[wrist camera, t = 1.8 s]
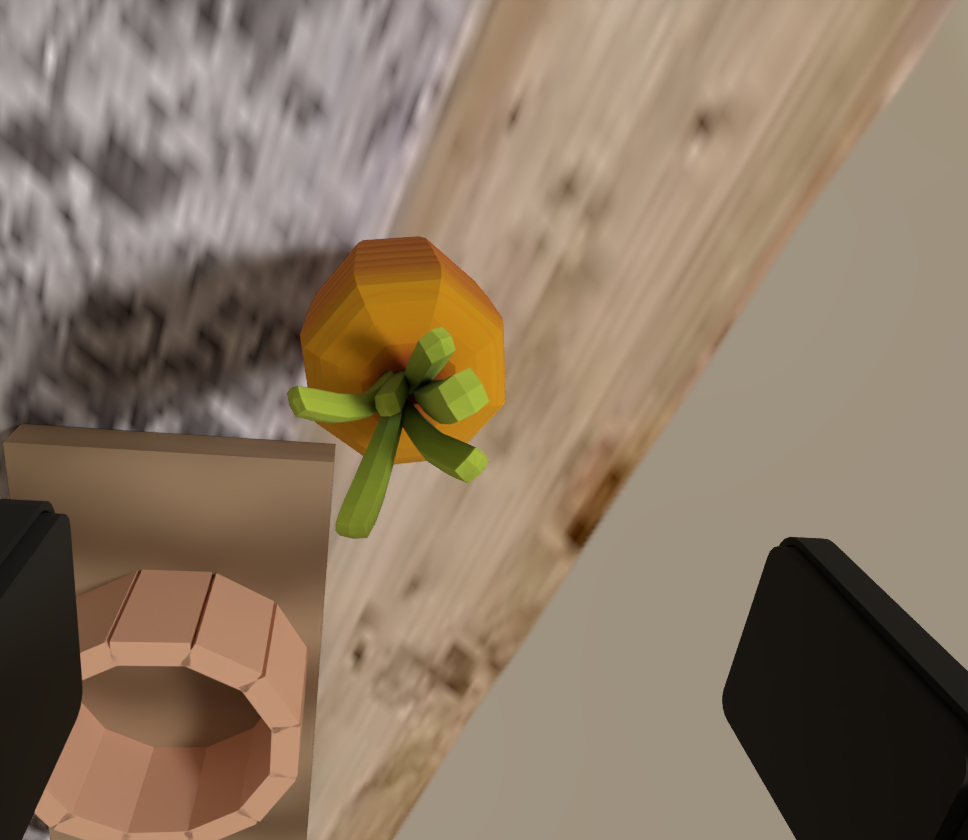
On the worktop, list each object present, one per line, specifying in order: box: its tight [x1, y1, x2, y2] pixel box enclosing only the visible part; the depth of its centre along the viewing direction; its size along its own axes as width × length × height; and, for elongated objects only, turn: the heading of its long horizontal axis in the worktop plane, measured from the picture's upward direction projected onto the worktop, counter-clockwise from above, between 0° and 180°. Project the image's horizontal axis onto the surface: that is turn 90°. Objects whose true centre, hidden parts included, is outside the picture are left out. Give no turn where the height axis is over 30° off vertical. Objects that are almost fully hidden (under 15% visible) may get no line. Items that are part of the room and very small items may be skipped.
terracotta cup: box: [34, 570, 308, 840], centre depth 29 cm, size 10×10×4 cm
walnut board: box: [3, 424, 335, 840], centre depth 31 cm, size 20×11×2 cm, turn 172°
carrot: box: [287, 236, 506, 539], centre depth 20 cm, size 5×5×15 cm
